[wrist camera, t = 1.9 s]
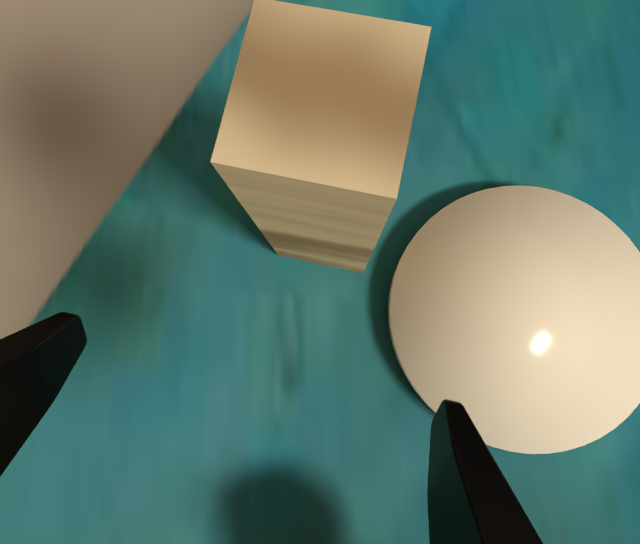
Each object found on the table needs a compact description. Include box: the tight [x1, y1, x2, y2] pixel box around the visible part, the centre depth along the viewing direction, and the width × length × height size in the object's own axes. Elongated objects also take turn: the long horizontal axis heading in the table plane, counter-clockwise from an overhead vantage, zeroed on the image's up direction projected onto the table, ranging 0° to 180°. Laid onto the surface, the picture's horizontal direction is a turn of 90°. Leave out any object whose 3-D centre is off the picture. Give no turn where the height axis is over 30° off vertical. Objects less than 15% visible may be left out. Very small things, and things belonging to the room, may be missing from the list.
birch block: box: [210, 0, 431, 273], centre depth 17 cm, size 5×5×13 cm
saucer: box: [388, 186, 640, 454], centre depth 22 cm, size 14×14×1 cm
